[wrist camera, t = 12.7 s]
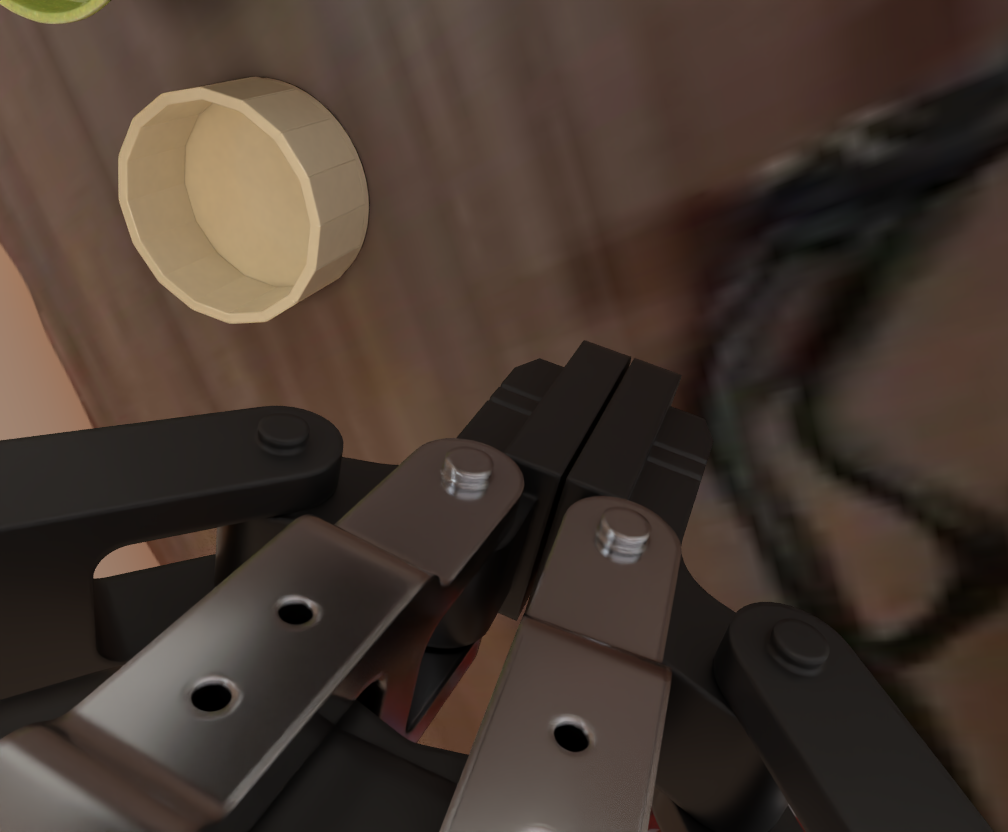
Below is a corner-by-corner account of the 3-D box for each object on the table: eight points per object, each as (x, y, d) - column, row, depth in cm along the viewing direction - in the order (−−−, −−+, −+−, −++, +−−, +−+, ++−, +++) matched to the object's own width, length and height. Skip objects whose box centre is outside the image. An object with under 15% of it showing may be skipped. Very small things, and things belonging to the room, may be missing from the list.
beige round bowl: (186, 50, 41) (116, 59, 37) (383, 112, 39) (331, 128, 35) (180, 256, 46) (118, 282, 42) (355, 319, 44) (306, 353, 40)
